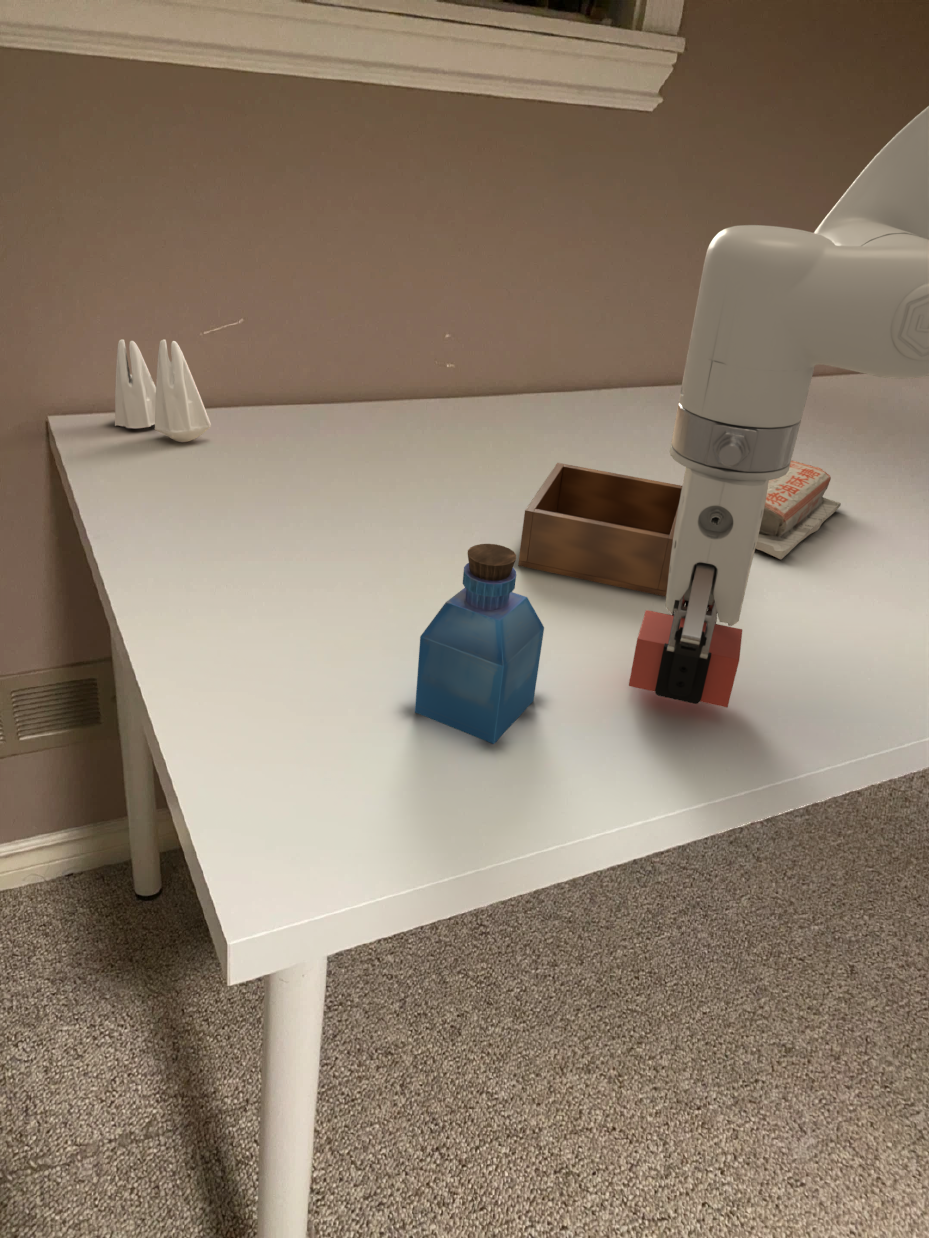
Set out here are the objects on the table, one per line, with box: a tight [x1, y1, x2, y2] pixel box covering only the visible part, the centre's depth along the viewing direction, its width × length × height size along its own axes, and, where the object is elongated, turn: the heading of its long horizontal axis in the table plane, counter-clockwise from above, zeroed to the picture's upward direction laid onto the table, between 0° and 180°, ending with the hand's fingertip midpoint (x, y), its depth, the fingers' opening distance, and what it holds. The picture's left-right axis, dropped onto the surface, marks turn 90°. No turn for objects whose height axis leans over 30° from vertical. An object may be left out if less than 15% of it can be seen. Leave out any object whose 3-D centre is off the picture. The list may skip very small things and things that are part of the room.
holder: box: [517, 462, 682, 598], centre depth 90 cm, size 14×14×6 cm
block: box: [628, 609, 743, 708], centre depth 68 cm, size 7×4×4 cm, turn 73°
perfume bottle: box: [414, 543, 545, 745], centre depth 64 cm, size 6×6×12 cm
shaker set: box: [114, 338, 212, 443], centre depth 106 cm, size 12×4×11 cm, turn 59°
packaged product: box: [755, 459, 842, 560], centre depth 100 cm, size 18×5×10 cm
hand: (681, 676), depth 69 cm, fingers closed on block, 4 cm apart
